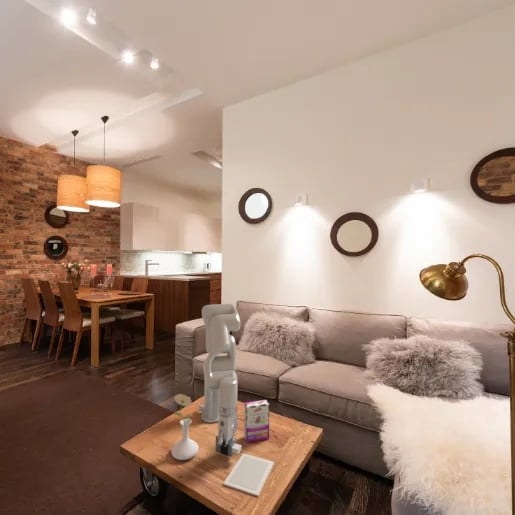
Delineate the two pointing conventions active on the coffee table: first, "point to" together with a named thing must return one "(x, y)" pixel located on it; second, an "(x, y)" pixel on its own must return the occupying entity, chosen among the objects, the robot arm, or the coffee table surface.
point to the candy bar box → (256, 420)
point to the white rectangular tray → (249, 474)
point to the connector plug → (229, 446)
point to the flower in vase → (184, 433)
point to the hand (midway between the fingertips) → (226, 450)
